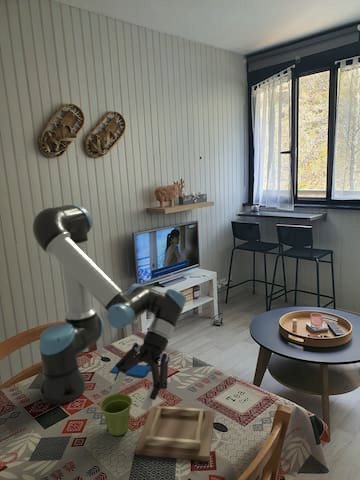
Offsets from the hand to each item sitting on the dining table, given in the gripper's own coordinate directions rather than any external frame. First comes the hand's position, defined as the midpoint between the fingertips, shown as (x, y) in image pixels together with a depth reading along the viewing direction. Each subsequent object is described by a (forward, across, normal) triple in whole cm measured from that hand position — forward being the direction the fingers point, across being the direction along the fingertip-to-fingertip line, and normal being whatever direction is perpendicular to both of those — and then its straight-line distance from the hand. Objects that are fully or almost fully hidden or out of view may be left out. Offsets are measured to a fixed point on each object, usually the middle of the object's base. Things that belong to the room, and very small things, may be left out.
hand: (128, 401), depth 107 cm
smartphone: (-9, +22, -21) cm, 32 cm away
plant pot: (+8, +2, -3) cm, 9 cm away
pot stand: (+2, -14, -10) cm, 17 cm away
